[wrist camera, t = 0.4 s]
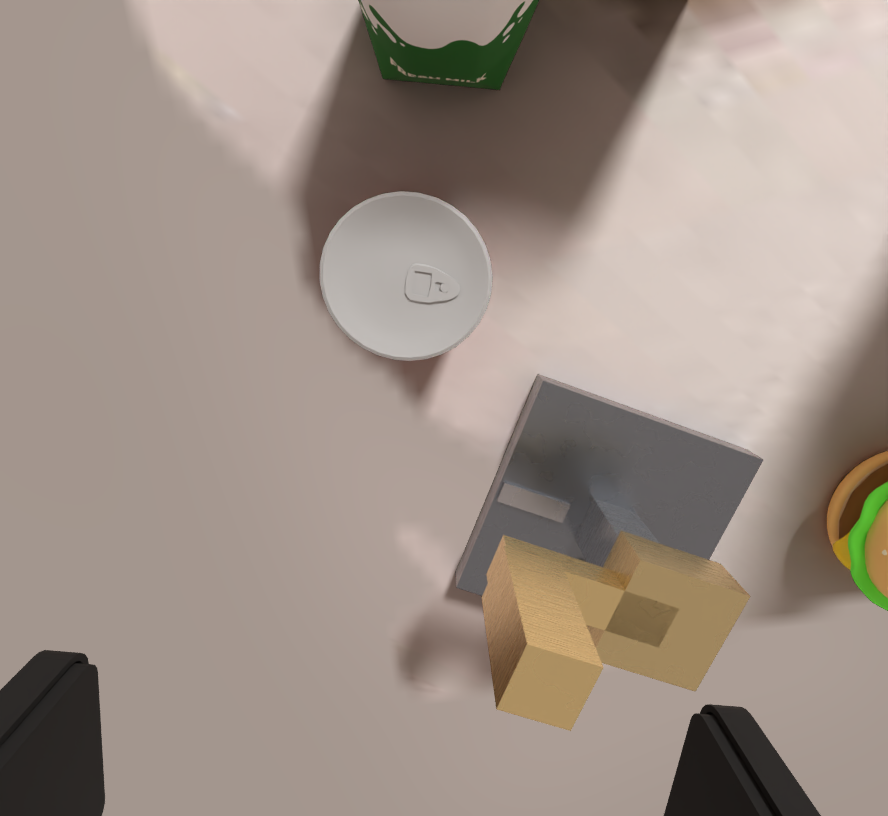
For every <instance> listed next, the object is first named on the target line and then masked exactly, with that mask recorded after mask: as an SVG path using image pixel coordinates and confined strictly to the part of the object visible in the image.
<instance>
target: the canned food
mask: <svg viewBox="0 0 888 816" xmlns="http://www.w3.org/2000/svg"><path fill="white" fill-rule="evenodd" d="M492 279H493V276H492V267H491V260H490V257H489V254H488V251H487V247H486V244H485V243H484V241H483V239H482V237H481V235H480V234H479V232H478V230H477V229H476V228H475V226H474V225H473V224H472V223H471V222H470V221H469V219H468V218H467V217H466V216H465V215H464V214H462V213H461V212H460V211H459V210H457V209H456V208H455V207H454V206H452V205H450V204H448V203H446V202H444V201H443V200H441V199H439V198H437V197H433V196H430V195H426V194H423V193H419V192H407V191H399V192H391V193H384V194H381V195H378V196H375V197H372V198H369V199H366V200H365V201H363V202H361V203H360V204H358V205H356V206H354V207H353V208H352V209H351V210H349V211H348V212H347V213H346V214H345V215H344V216H343V217H342V218H341V219H340V220H339V221H338V222H337V224H336V225H335V227H334V228H333V229H332V231H331V232H330V234H329V236H328V239H327V241H326V243H325V245H324V248H323V252H322V256H321V261H320V285H321V291H322V296H323V299H324V302H325V304H326V306H327V309H328V311H329V314H330V315H331V317H332V318H333V320H334V321H335V323H336V324H337V326H338V327H339V328H340V329H341V330H342V331H343V332H344V333H345V334H346V336H347V337H348V338H349V339H351V340H352V341H353V342H355V343H356V344H358V345H359V346H360V347H362V348H363V349H365V350H367V351H370V352H372V353H374V354H376V355H378V356H382V357H386V358H389V359H393V360H405V361H414V360H423V359H428V358H432V357H435V356H438V355H441V354H443V353H445V352H447V351H449V350H451V349H453V348H455V347H456V346H458V345H459V344H460V343H461V342H462V341H464V340H465V339H466V338H467V337H469V335H470V334H471V333H472V332H473V330H474V329H475V328H476V327H477V326H478V324H479V323H480V321H481V319H482V317H483V315H484V313H485V311H486V309H487V306H488V303H489V299H490V296H491V290H492Z"/></svg>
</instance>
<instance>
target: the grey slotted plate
mask: <svg viewBox="0 0 888 816" xmlns="http://www.w3.org/2000/svg"><path fill="white" fill-rule="evenodd" d="M762 461H763V459H761V458H760V457H758V456H757V455H755V454H753V453H752V452H750V451H749V450H747V449H744V448H741V447H739V446H736V445H733V444H730V443H727V442H725V441H722V440H719V439H716V438H714V437H711V436H708V435H705V434H703V433H700V432H697V431H694V430H691V429H689V428H686V427H683V426H680V425H678V424H675V423H672V422H669V421H667V420H664V419H661V418H658V417H655V416H653V415H650V414H647V413H644V412H642V411H639V410H636V409H633V408H631V407H628V406H625V405H622V404H619V403H617V402H614V401H611V400H608V399H606V398H603V397H600V396H597V395H595V394H592V393H589V392H586V391H583V390H581V389H578V388H575V387H572V386H570V385H567V384H564V383H561V382H559V381H556V380H553V379H550V378H547V377H545V376H542V375H539V374H538V375H537V377H536V380H535V382H534V384H533V387H532V389H531V392H530V394H529V396H528V399H527V401H526V404H525V406H524V408H523V411H522V413H521V416H520V418H519V420H518V423H517V425H516V428H515V430H514V432H513V435H512V437H511V440H510V442H509V444H508V447H507V449H506V452H505V454H504V456H503V459H502V461H501V464H500V466H499V468H498V471H497V473H496V476H495V478H494V480H493V483H492V485H491V488H490V490H489V493H488V495H487V497H486V500H485V502H484V505H483V507H482V509H481V512H480V514H479V517H478V519H477V521H476V524H475V526H474V529H473V531H472V534H471V536H470V538H469V541H468V543H467V545H466V548H465V550H464V553H463V555H462V557H461V560H460V562H459V565H458V567H457V569H456V572H455V575H456V588H459V589H462V590H465V591H468V592H472V593H475V594H478V595H481V596H483V593H484V591H485V589H486V586H487V584H488V582H487V575H486V574H487V571H488V569H489V567H490V564H491V562H492V560H493V558H494V555H495V553H496V551H497V548H498V546H499V544H500V541H501V539H502V537H503V535H505V536H508V537H512V538H515V539H518V540H521V541H524V542H527V543H530V544H533V545H536V546H539V547H542V548H545V549H548V550H551V551H554V552H557V553H561V554H564V555H567V556H570V557H573V558H576V559H579V560H582V561H585V562H588V563H591V564H594V565H597V566H600V567H603V566H604V564H605V562H606V560H607V558H608V556H609V554H610V552H611V550H612V548H613V546H614V544H615V542H616V540H617V537H618V535H619V533H620V531H624V532H627V533H630V534H633V535H636V536H639V537H642V538H645V539H648V540H651V541H654V542H657V543H660V544H663V545H666V546H669V547H672V548H675V549H678V550H681V551H684V552H687V553H690V554H693V555H696V556H699V557H702V558H705V559H708V560H709V559H710V557H711V555H712V553H713V551H714V550H715V548H716V546H717V544H718V542H719V540H720V539H721V537H722V535H723V533H724V531H725V529H726V528H727V526H728V524H729V522H730V520H731V518H732V517H733V515H734V513H735V511H736V509H737V507H738V506H739V504H740V502H741V500H742V498H743V496H744V495H745V493H746V491H747V489H748V487H749V485H750V484H751V482H752V480H753V478H754V476H755V474H756V473H757V471H758V469H759V467H760V465H761V463H762Z"/></svg>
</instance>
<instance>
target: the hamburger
mask: <svg viewBox="0 0 888 816" xmlns="http://www.w3.org/2000/svg"><path fill="white" fill-rule="evenodd" d="M827 531H828V535H829V540H830V542H831V545H832V548H833V551H834V553H835V555H836V557H837V558H838V560H839V561H840V562H841V563H842V564H843V565H844V566H845V567H846V568H848V569H849V570H850V572H851V575H852V578H853V580H854V582H855V583H856V585H857V586H858V587H859V589H860V590H861V591H862V592H863V593H864V594H865V595H866V597H867V598H868V599H869V600H870V601H871V602H873V603H874V604H876V605H878V606H879V607H881V608H883V609H885V610H887V611H888V451H885V452H882V453H879V454H877V455H875V456H873V457H871V458H869V459H867V460H865V461H863V462H862V463H861V464H859V465H858V466H856V467H855V468H854V469H853V470H852V471H851V472H850V473H848V474H847V475H846V476H845V478H844V479H843V480H842V481H841V483H840V484H839V485H838V487H837V489H836V490H835V492H834V494H833V496H832V498H831V501H830V504H829V507H828V512H827Z"/></svg>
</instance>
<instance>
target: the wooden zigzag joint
mask: <svg viewBox="0 0 888 816" xmlns="http://www.w3.org/2000/svg"><path fill="white" fill-rule="evenodd" d="M486 575H487V582H488V584H487V586H486V589H485V591H484V593H483V596H482V604H483V612H484V619H485V627H486V634H487V642H488V650H489V657H490V665H491V672H492V680H493V687H494V695H495V702H496V709H497V710H501V711H505V712H508V713H511V714H515V715H518V716H522V717H525V718H528V719H532V720H535V721H539V722H542V723H546V724H549V725H552V726H556V727H559V728H563V729H566V730H570V731H571V729H572V727H573V725H574V723H575V721H576V719H577V718H578V716H579V714H580V712H581V710H582V708H583V706H584V704H585V702H586V700H587V698H588V696H589V694H590V693H591V690H592V688H593V687H594V685H595V683H596V681H597V679H598V677H599V675H600V673H601V671H602V669H603V665H602V663H604V664H607V665H611V666H614V667H617V668H621V669H624V670H627V671H630V672H634V673H637V674H640V675H644V676H647V677H650V678H654V679H656V680H660V681H663V682H666V683H669V684H673V685H676V686H679V687H682V688H686V689H689V690H692V691H696V690H697V688H698V686H699V684H700V683H701V681H702V679H703V678H704V676H705V674H706V672H707V670H708V669H709V667H710V665H711V664H712V662H713V660H714V658H715V657H716V655H717V653H718V651H719V650H720V648H721V646H722V645H723V643H724V641H725V639H726V638H727V636H728V634H729V633H730V631H731V629H732V627H733V626H734V624H735V622H736V620H737V619H738V617H739V615H740V613H741V612H742V610H743V608H744V607H745V605H746V603H747V601H748V600H749V598H750V595H749V594H748V593H747V592H746V591H745V590H744V589H743V588H742V587H741V586H740V584H739V583H738V582H737V581H736V580H735V579H734V578H733V577H732V576H731V575H730V574H729V572H728V571H727V570H726V569H725V568H724V567H723V566H722V565H721V564H719V563H716V562H713V561H710V560H708V559H705V558H702V557H699V556H696V555H693V554H690V553H687V552H684V551H681V550H678V549H675V548H672V547H669V546H666V545H663V544H660V543H657V542H654V541H651V540H648V539H645V538H642V537H639V536H636V535H633V534H630V533H627V532H624V531H620V533H619V535H618V537H617V540H616V542H615V544H614V546H613V548H612V550H611V552H610V554H609V556H608V558H607V560H606V562H605V564H604V566H603V567H600V566H597V565H594V564H591V563H588V562H585V561H582V560H579V559H576V558H573V557H570V556H567V555H564V554H561V553H557V552H554V551H551V550H548V549H545V548H542V547H539V546H536V545H533V544H530V543H527V542H524V541H521V540H518V539H515V538H512V537H508V536H505V535H503V537H502V539H501V541H500V544H499V546H498V548H497V551H496V553H495V555H494V558H493V560H492V562H491V564H490V567H489V569H488V571H487V574H486Z"/></svg>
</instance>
